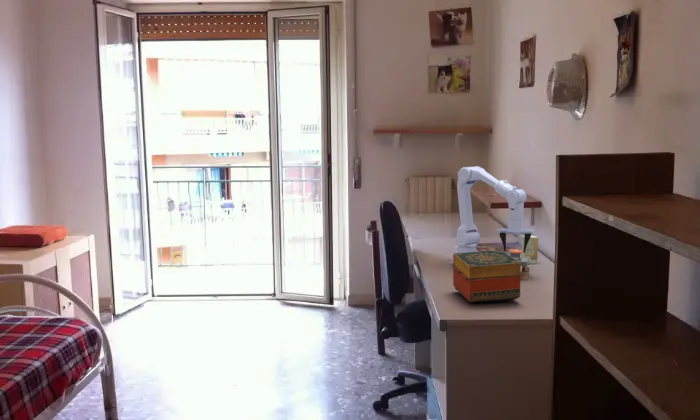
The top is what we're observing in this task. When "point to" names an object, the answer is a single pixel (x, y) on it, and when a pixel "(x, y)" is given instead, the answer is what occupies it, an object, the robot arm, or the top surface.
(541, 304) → the top surface
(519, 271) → the decorative box
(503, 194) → the robot arm
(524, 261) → the cabinet
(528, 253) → the skincare box
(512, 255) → the button
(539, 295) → the top surface
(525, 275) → the wooden tray
